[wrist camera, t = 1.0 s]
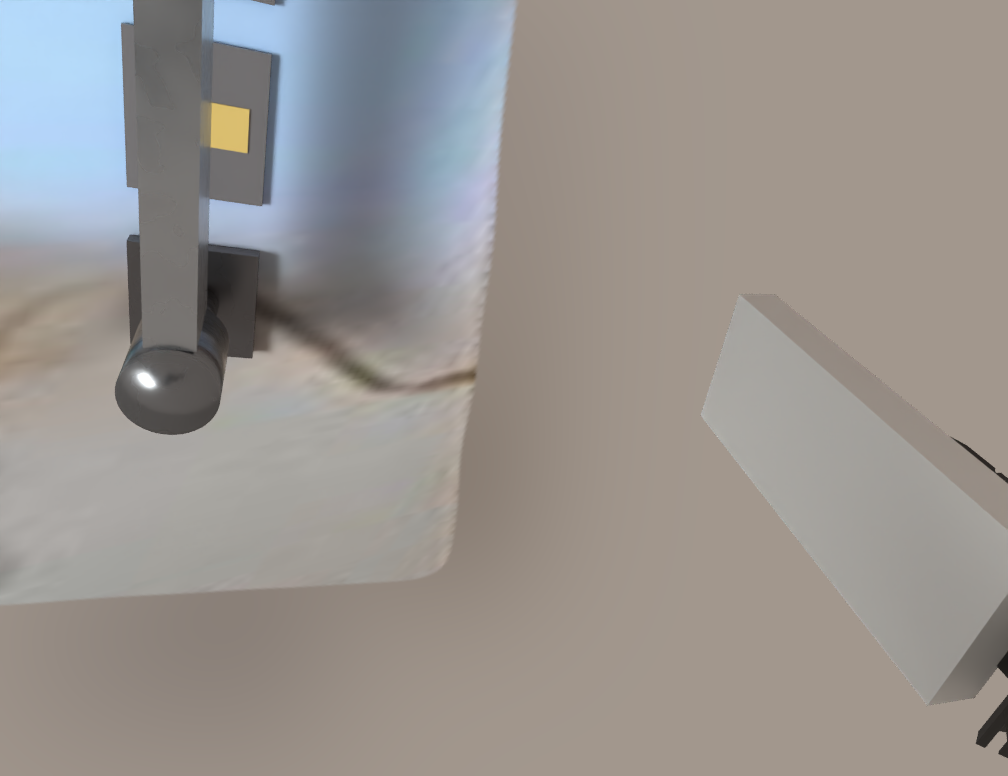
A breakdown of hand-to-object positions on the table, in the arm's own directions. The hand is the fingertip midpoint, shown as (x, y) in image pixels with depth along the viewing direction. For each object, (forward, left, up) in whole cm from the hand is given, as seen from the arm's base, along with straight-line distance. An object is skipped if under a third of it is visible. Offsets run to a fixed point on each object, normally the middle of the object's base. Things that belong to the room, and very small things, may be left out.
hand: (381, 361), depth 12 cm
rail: (-6, -3, -21) cm, 22 cm away
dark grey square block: (-6, -12, -26) cm, 29 cm away
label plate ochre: (-6, -3, -26) cm, 27 cm away
